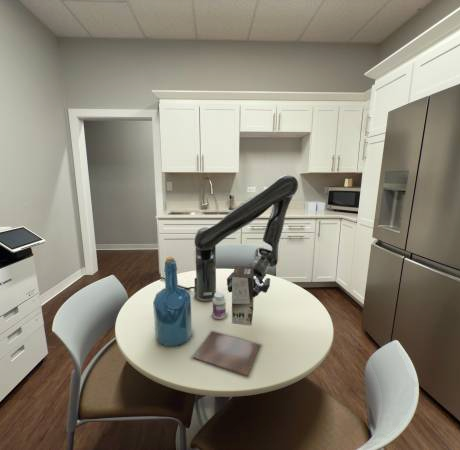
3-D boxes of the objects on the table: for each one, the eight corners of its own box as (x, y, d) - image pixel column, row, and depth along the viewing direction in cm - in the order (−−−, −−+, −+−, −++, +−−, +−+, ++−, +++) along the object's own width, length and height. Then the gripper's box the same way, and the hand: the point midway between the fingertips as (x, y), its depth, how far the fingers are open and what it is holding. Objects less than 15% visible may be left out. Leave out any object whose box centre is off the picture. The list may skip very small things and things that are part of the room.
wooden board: (193, 358, 80) (193, 356, 80) (212, 332, 92) (212, 331, 92) (247, 376, 73) (247, 374, 73) (259, 345, 85) (259, 344, 85)
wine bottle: (153, 328, 95) (148, 254, 88) (187, 321, 99) (184, 249, 93) (158, 352, 82) (152, 267, 76) (197, 342, 87) (194, 262, 80)
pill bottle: (212, 312, 105) (212, 291, 103) (225, 311, 106) (224, 290, 104) (213, 319, 100) (212, 298, 98) (226, 319, 101) (226, 297, 98)
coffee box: (252, 326, 77) (252, 278, 73) (231, 324, 78) (231, 276, 74) (253, 310, 86) (254, 266, 82) (235, 308, 87) (235, 265, 83)
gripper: (237, 259, 94) (220, 277, 80) (275, 265, 89) (264, 284, 74) (237, 278, 96) (220, 298, 81) (274, 284, 90) (263, 307, 76)
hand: (241, 291), depth 78 cm, fingers closed on coffee box, 7 cm apart
